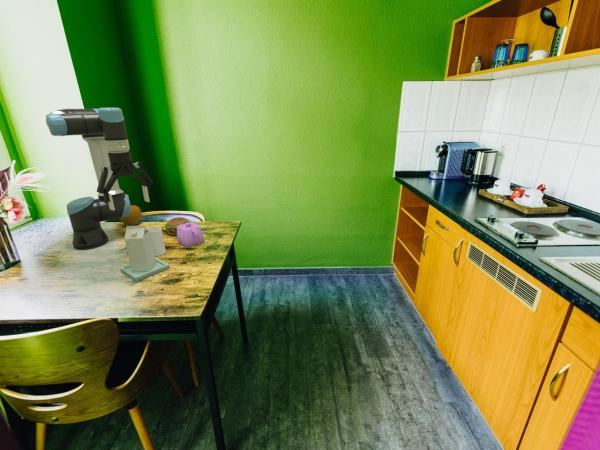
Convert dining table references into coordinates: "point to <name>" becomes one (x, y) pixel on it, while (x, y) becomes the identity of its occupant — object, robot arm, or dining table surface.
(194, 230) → the teapot
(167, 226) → the food
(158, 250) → the mug
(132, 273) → the tray
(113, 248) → the dining table surface
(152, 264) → the milk carton
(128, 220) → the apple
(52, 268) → the dining table surface
